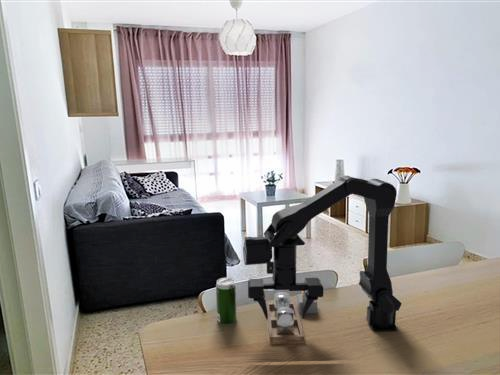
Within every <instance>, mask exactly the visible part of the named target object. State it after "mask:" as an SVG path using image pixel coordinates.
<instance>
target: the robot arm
mask: <svg viewBox="0 0 500 375" xmlns="http://www.w3.org/2000/svg"><path fill="white" fill-rule="evenodd" d="M350 195H356V196H360V197H363V199H364V204H365V207H366V209H367V212H368V245H367V247H368V250H367V266H366V268H365V270H359V282H358V285H359V286H360V287H361V290H362V291H363V292H364V293H365V294H366V295H367V296H366V297H368V298H369V304H368V306H367V307H366V321H367V323H368V325H369V326H370V327H371V329H372V331H374V332H383V331H385V332H386V331H388V332H389V331H392V332H393V331H398V327H397V325H396V319H397V317H396V316H397V311H400V309H401V306H402V302H401V301H400V300H398V299H397V297H395V296H394V295H393V294H394V293H393V292H394V291H393V285H392V280H391V278H390V275H389V272H388V246H389V245H388V244H389V218H390V215H391V213H392V212H393V210H394V208H395V204H396V200H397V199H396V198H397V197H398V196H397V195H398V193H397V189H396V187H395V186H394V185H393V184H391V183H390V182H387V181H384V180H382V179H379V178H371V179H370V180H366V179H363V178H358V177H353V176H350V175H343V176H341V177H339V179H338V180H337V181H334V182H333V183H331V184H330V185H328V186H327V187H325V188H324V189H322V190H321V191H319V192H317V193H316V194H314V195H313V196H310V197H309V198H307V199H306V200H304V201H303V202H301V203H299V204H295V205H289V206H287V207H285V208H283V209H279V210H277V211H276V212H275V213H274V214H273V215H272V218H271V223H270V224H269V225H268V227H267V228H266V230H265V231H264V232H263V236H245V237H244V242H243V246H242V256H243V262H244V263H243V264H244V265H245V266H252V265H253V266H254V265H264V264H265V265H266V274H268V275H270V274H272V281H273V283H264V278H249V279H248V281H247V297H248V299H252V301H253V302H257V303H258V305H259V306H260V308H261V309H262V312H263V314H264V318H265V319H266V320H267V319H268V312H267V305H266V303H267V299H266V292H302V291H303V302H302V310H301V319H302V320H304V319H305V316H306V315H307V314H308V313H307V311H308V309H309V307H310V306H311V304H312V303H313V301H314V300H317V301H318V300H319V298H322V297H324V286H323V284H322V282H321V279H320V278H319V277H305V278H304V282H297V247H298V246H304V245H306V242H305V241H304V240H303V239H302V238H301V237H300V235H299V234H300V233H301V232H302V231H303V230H304V229H305V228H306V226H308V224H309V222H310V221H311V220H313V219H314V218H315V217H317V216H318V215H319V216H320V214H322V213H324V212H325V211H326V210H329V209H330V208H331V207H333V206H334V205H336V204H338V203H340V202H341V201H343V200H344V199H346V198H347V197H349V196H350ZM272 259H273V261H272Z"/></svg>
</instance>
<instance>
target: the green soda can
mask: <svg viewBox="0 0 500 375" xmlns="http://www.w3.org/2000/svg"><path fill="white" fill-rule="evenodd" d="M236 284H237V283H236V282H235V279H233V277H221V278H218V279H217V280H216V284H215V287H216V288H215V289H216V292H215V293H216V297H215V298H216V320H217V323H218V324H220V325H223V326H229V325H232V324H234V323H236V322H237V320H238V319H237V318H238V317H237V293H236V292H237V287H236V286H237V285H236Z"/></svg>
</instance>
